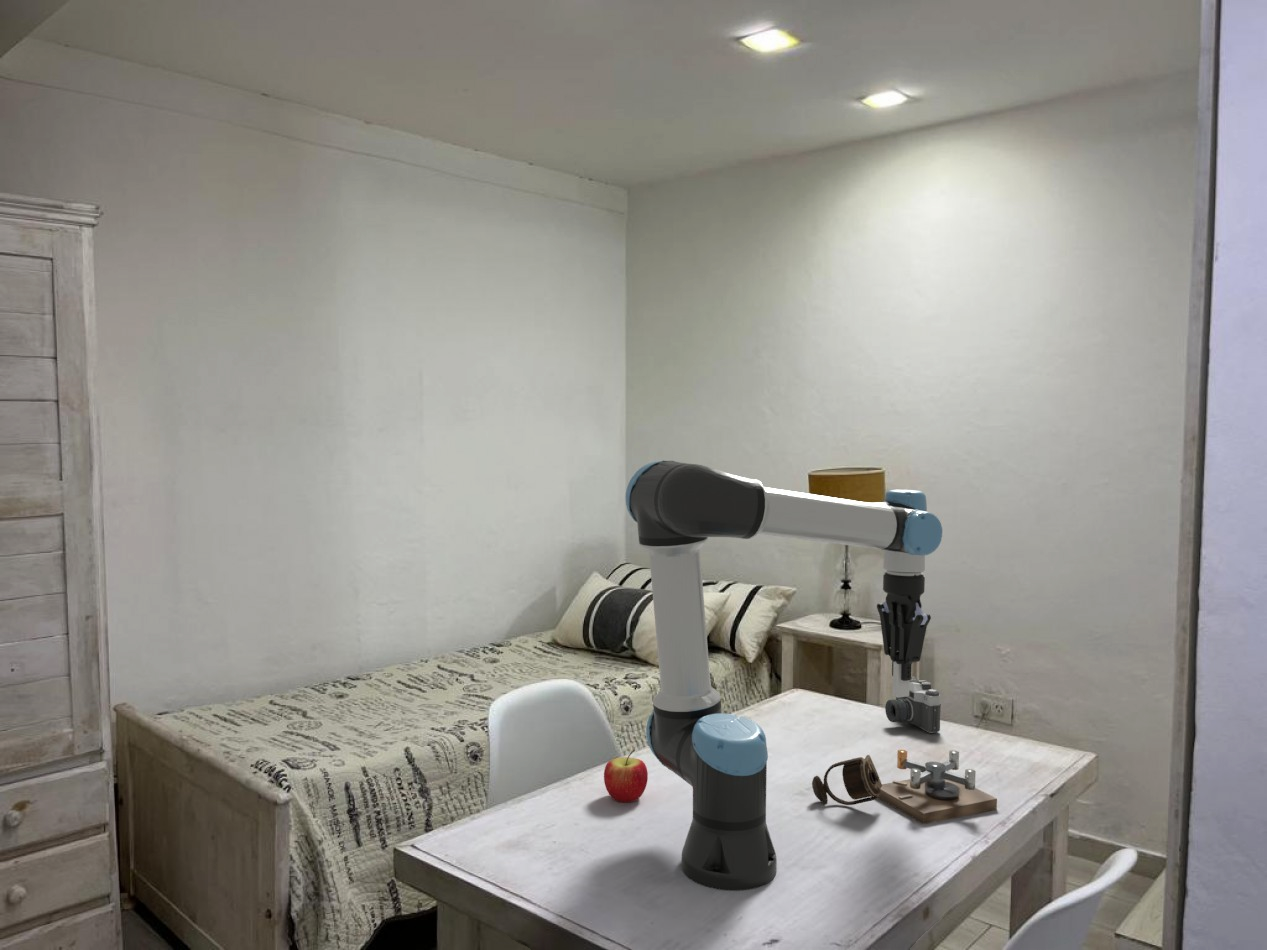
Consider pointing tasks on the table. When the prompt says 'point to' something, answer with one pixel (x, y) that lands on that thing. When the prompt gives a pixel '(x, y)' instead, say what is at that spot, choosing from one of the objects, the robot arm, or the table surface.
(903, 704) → the camera
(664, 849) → the table surface
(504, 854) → the table surface
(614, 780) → the apple
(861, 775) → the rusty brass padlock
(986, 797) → the stand board
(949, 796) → the grey star handwheel
